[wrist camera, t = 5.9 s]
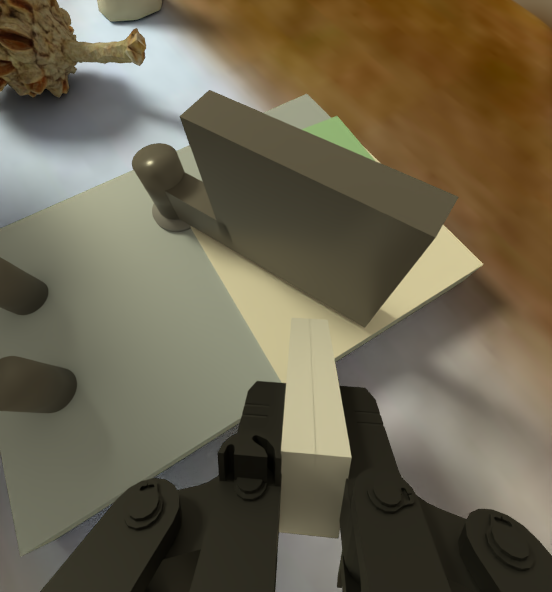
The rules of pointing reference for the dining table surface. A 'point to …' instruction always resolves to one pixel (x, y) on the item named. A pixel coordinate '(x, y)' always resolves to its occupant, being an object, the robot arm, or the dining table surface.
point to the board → (149, 338)
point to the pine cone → (51, 47)
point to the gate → (296, 204)
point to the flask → (128, 9)
